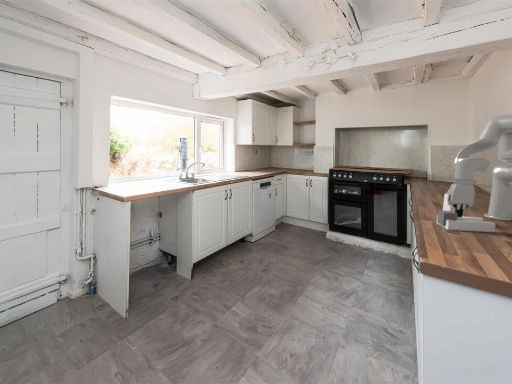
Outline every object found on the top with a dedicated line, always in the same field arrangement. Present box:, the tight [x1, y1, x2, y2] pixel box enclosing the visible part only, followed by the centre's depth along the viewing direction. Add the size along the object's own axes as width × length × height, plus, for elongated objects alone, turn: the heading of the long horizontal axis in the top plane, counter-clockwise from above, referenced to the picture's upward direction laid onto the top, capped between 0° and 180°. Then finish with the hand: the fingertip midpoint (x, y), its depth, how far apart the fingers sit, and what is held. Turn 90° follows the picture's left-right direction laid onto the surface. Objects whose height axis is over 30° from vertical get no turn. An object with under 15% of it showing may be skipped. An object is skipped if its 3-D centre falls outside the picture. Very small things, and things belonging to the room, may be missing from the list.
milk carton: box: [442, 187, 465, 217], centre depth 136 cm, size 7×7×19 cm
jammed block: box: [436, 210, 458, 226], centre depth 127 cm, size 6×6×7 cm
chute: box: [436, 214, 496, 233], centre depth 125 cm, size 20×12×5 cm, turn 77°
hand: (458, 216), depth 125 cm, fingers closed
